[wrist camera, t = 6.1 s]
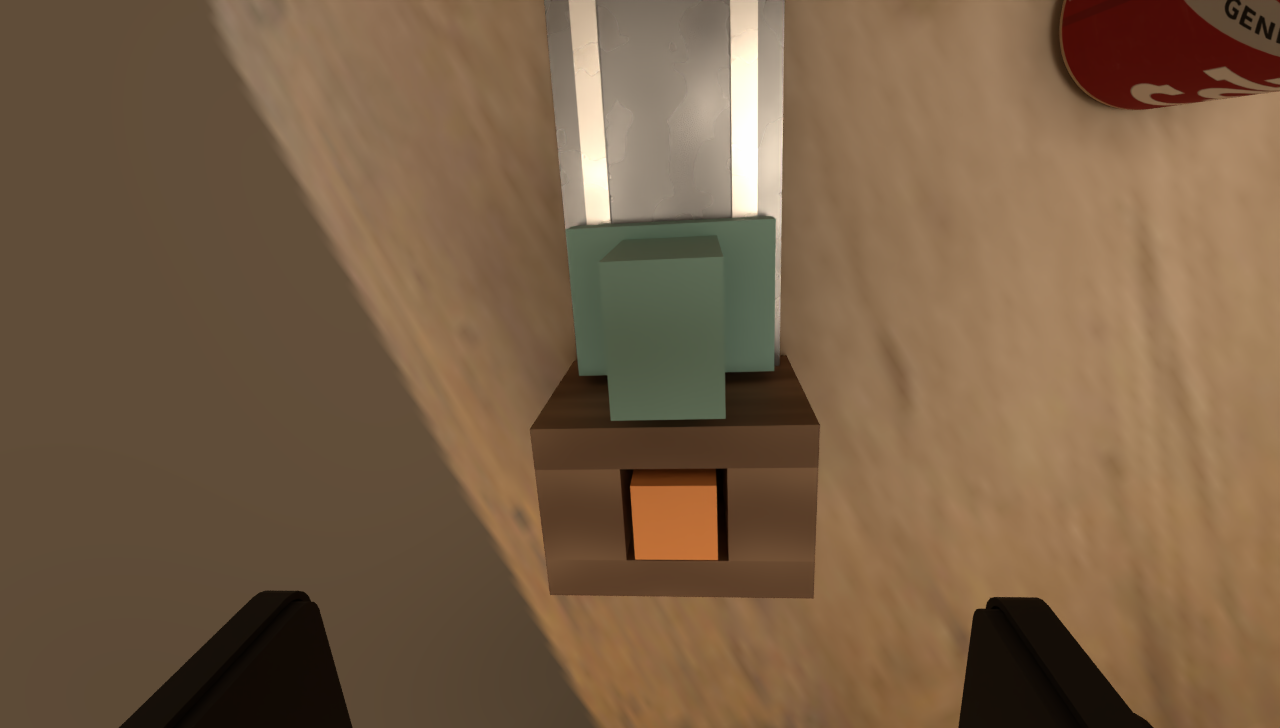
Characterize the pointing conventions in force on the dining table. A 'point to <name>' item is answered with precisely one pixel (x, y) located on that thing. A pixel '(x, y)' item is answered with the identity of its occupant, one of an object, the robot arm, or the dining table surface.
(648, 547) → the plunger
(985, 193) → the dining table surface
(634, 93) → the rail track
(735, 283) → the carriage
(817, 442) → the cabinet
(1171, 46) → the soda can
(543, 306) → the dining table surface
